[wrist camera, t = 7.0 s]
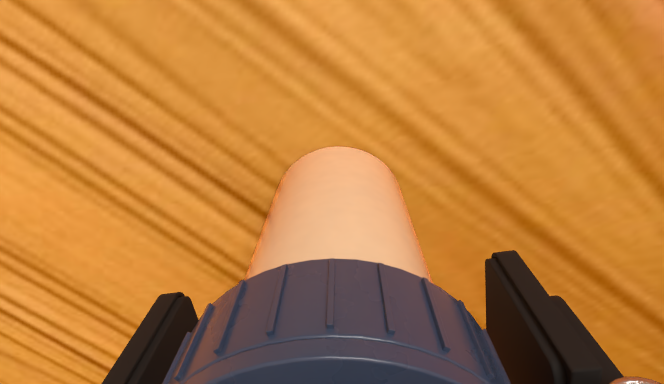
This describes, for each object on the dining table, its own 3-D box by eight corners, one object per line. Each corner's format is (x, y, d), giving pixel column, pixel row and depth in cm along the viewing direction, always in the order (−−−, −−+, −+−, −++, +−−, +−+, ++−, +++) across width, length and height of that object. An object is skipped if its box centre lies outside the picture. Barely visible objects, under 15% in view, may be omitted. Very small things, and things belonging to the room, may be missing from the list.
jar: (408, 252, 19) (490, 540, 8) (290, 268, 19) (231, 559, 9) (395, 136, 16) (485, 334, 6) (261, 157, 17) (142, 373, 7)
